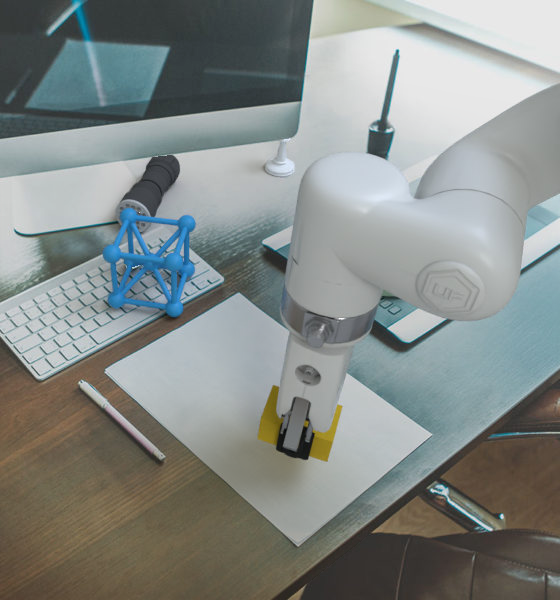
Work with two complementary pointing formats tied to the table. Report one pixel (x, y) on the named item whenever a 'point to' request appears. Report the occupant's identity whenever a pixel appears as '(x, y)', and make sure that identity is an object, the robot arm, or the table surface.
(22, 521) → the table surface
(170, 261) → the molecular structure
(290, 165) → the chess piece
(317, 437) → the sponge
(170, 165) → the flashlight
